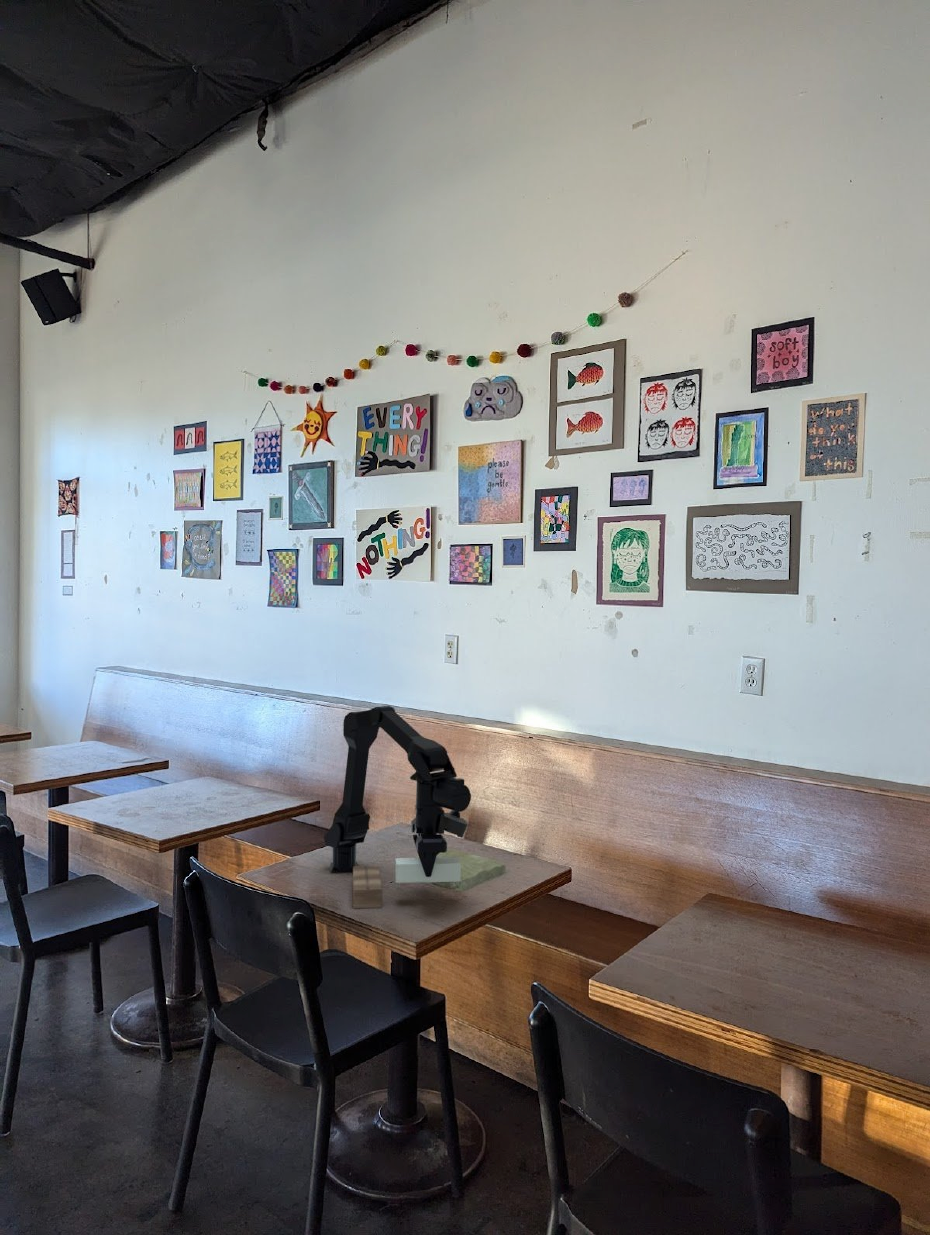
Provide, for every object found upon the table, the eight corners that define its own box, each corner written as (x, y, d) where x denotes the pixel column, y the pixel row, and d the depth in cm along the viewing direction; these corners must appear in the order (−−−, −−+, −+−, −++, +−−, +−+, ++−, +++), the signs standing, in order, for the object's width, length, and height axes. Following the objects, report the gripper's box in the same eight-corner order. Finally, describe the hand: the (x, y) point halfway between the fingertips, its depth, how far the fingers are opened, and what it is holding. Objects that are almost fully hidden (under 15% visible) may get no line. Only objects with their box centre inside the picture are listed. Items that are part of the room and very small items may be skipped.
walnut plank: (352, 883, 200) (353, 865, 200) (378, 882, 201) (378, 865, 201) (353, 908, 184) (353, 889, 184) (381, 907, 185) (381, 888, 185)
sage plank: (396, 882, 186) (396, 864, 186) (395, 876, 190) (395, 858, 190) (460, 881, 188) (460, 863, 187) (457, 874, 192) (458, 857, 192)
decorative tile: (443, 858, 223) (443, 844, 223) (506, 875, 211) (507, 860, 211) (394, 875, 208) (395, 861, 208) (460, 894, 196) (460, 879, 196)
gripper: (471, 813, 180) (469, 886, 181) (459, 792, 199) (458, 859, 199) (418, 813, 179) (416, 887, 179) (411, 793, 197) (410, 860, 198)
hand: (427, 873), depth 189 cm, fingers closed on sage plank, 4 cm apart
